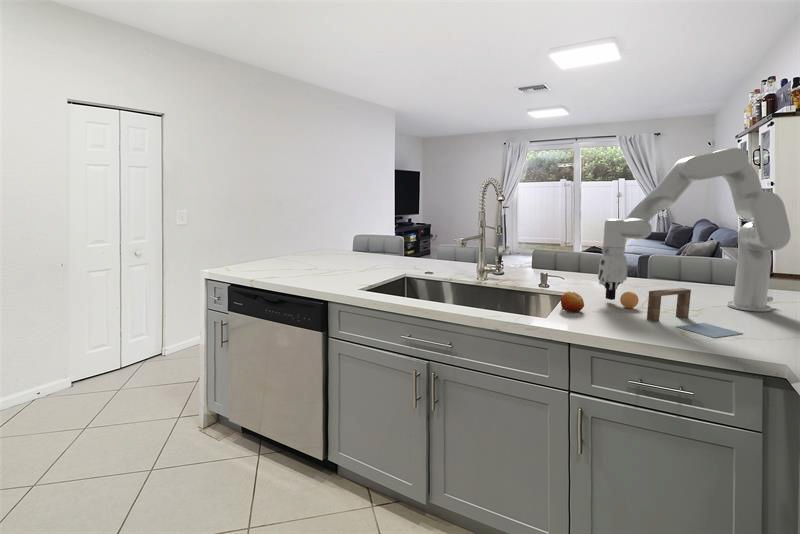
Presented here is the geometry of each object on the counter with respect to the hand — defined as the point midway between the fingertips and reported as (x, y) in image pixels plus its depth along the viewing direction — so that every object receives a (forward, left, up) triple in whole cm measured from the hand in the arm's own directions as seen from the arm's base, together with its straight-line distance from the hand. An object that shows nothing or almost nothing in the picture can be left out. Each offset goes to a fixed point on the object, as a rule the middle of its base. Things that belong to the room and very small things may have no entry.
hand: (610, 298), depth 172 cm
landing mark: (0, +39, -2) cm, 39 cm away
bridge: (0, +25, -2) cm, 25 cm away
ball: (0, +9, +2) cm, 9 cm away
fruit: (+23, +6, -2) cm, 24 cm away
